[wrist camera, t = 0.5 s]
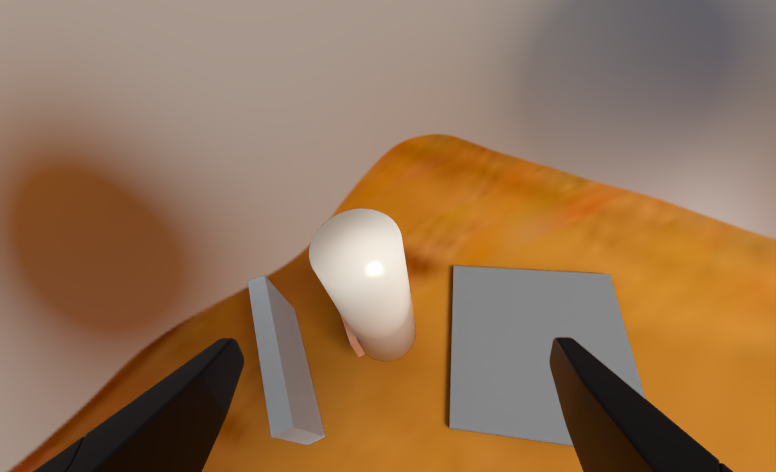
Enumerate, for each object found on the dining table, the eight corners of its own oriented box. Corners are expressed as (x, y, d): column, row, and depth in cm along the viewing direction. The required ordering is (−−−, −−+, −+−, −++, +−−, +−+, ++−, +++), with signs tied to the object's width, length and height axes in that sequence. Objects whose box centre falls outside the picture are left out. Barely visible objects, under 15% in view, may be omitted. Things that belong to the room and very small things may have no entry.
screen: (325, 437, 22) (293, 426, 17) (308, 445, 22) (271, 437, 17) (294, 309, 28) (264, 274, 23) (281, 314, 27) (247, 281, 23)
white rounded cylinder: (426, 345, 24) (418, 263, 15) (366, 373, 24) (317, 305, 14) (401, 295, 27) (381, 197, 17) (347, 318, 26) (295, 230, 17)
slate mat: (658, 458, 19) (662, 458, 19) (449, 428, 21) (449, 427, 21) (607, 276, 26) (609, 274, 25) (453, 268, 28) (453, 265, 28)
